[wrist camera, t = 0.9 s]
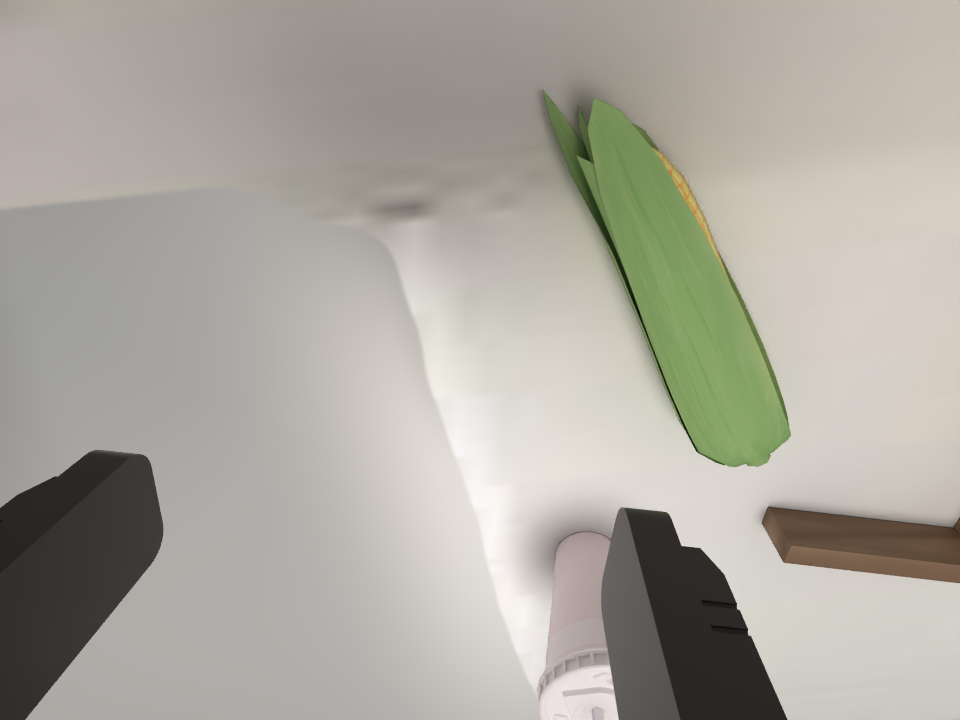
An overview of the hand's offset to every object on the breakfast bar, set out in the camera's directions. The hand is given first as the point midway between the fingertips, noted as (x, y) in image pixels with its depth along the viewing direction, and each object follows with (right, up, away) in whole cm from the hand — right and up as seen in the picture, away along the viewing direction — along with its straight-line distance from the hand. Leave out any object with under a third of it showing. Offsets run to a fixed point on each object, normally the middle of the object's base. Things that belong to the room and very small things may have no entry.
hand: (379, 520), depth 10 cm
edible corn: (+11, +7, +17) cm, 21 cm away
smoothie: (+8, -9, +25) cm, 28 cm away
